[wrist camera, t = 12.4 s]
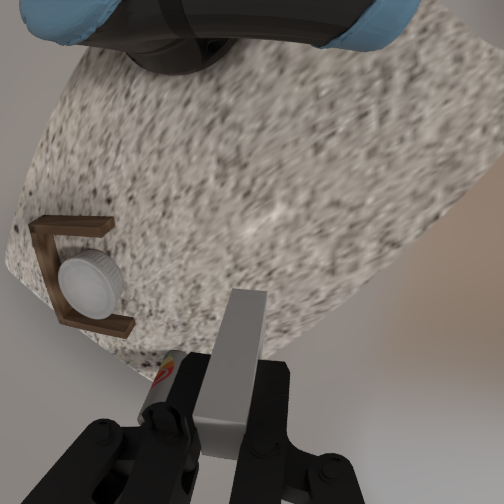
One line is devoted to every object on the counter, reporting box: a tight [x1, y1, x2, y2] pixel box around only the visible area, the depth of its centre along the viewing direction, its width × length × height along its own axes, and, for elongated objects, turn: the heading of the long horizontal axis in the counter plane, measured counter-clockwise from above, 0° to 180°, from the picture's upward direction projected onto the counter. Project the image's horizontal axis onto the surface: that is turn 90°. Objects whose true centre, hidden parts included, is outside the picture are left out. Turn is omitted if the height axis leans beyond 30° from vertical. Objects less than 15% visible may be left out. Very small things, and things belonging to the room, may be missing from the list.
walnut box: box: [28, 215, 136, 339], centre depth 46 cm, size 20×15×4 cm
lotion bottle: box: [137, 351, 187, 426], centre depth 46 cm, size 6×6×20 cm
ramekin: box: [58, 250, 123, 319], centre depth 46 cm, size 11×11×5 cm
